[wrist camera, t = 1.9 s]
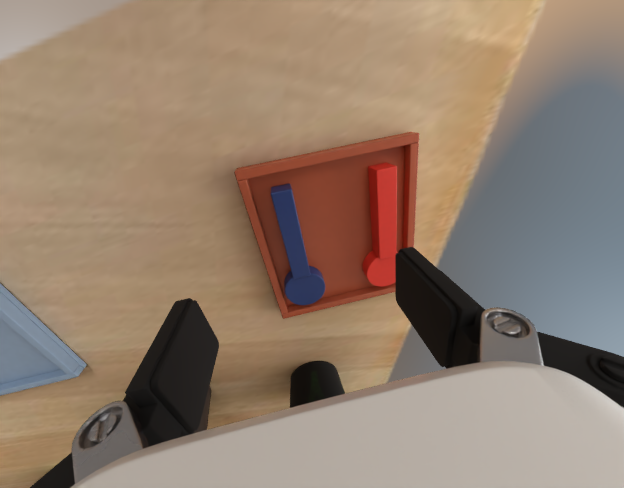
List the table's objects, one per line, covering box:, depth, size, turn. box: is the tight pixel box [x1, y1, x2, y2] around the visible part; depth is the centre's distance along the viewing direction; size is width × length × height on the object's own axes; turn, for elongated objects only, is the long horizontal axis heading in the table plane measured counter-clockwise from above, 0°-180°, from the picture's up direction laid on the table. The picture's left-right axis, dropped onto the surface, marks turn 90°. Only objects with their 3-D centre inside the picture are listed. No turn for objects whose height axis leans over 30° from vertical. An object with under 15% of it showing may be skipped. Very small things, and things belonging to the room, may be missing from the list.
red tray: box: [234, 132, 419, 319], centre depth 19 cm, size 13×12×1 cm
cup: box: [290, 361, 345, 408], centre depth 22 cm, size 8×8×12 cm
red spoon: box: [362, 162, 398, 287], centre depth 18 cm, size 10×3×2 cm, turn 10°
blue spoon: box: [271, 184, 325, 305], centre depth 18 cm, size 10×3×2 cm, turn 10°
